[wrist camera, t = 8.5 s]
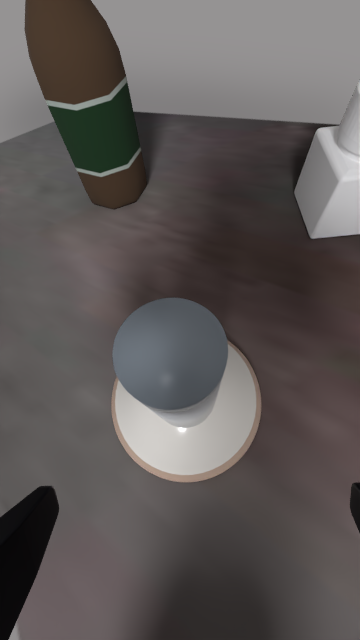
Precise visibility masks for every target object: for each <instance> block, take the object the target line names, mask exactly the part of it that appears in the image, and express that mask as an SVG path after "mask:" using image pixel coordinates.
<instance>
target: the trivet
mask: <svg viewBox="0 0 360 640" xmlns="http://www.w3.org/2000/svg"><path fill="white" fill-rule="evenodd" d="M227 343H228V359H227V364H226V368H225V371H224V374H223V378H222V381H221V384H220V388H219V391H218V394H217V398H216V401H215V404H214V407H213V410H212V412H211V413H210V415H209V416H208V417H207V419H206V420H204V421H203V422H202V423H200V424H199V425H196V426H194V427H190V428H180V427H176V426H173V425H171V424H169V423H167V422H166V421H165V420H163V419H162V418H161V417H159V416H158V415H157V414H155V413H154V412H153V411H151V410H150V409H149V408H147V407H146V406H145V405H143V404H142V403H141V402H139V401H138V400H137V399H135V398H134V397H133V396H132V395H131V394H129V393H128V392H127V391H126V389H125V388H124V387H123V386H122V384H121V383H120V381H119V379H118V377H117V378H116V380H115V383H114V388H113V392H112V403H111V405H112V417H113V423H114V427H115V430H116V433H117V435H118V438H119V440H120V442H121V444H122V445H123V447H124V448H125V450H126V452H127V453H128V454H129V455H130V456H131V458H132V459H133V460H134V461H135V462H136V463H138V464H139V465H140V466H141V467H142V468H144V469H145V470H147V471H148V472H150V473H152V474H154V475H156V476H158V477H160V478H163V479H167V480H170V481H176V482H196V481H202V480H206V479H209V478H212V477H215V476H217V475H219V474H221V473H223V472H225V471H226V470H227V469H229V468H230V467H232V466H233V465H234V464H235V463H236V462H237V461H238V460H239V459H240V458H241V457H242V456H243V455H244V453H245V452H246V451H247V450H248V448H249V446H250V445H251V443H252V441H253V439H254V437H255V434H256V432H257V429H258V425H259V421H260V416H261V394H260V388H259V384H258V381H257V378H256V375H255V373H254V370H253V368H252V367H251V365H250V363H249V362H248V360H247V359H246V357H245V356H244V355H243V354H242V353H241V351H240V350H239V349H238V348H237V347H236V346H234V345H233V344H232V343H231V342H229V341H228V340H227Z"/></svg>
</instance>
